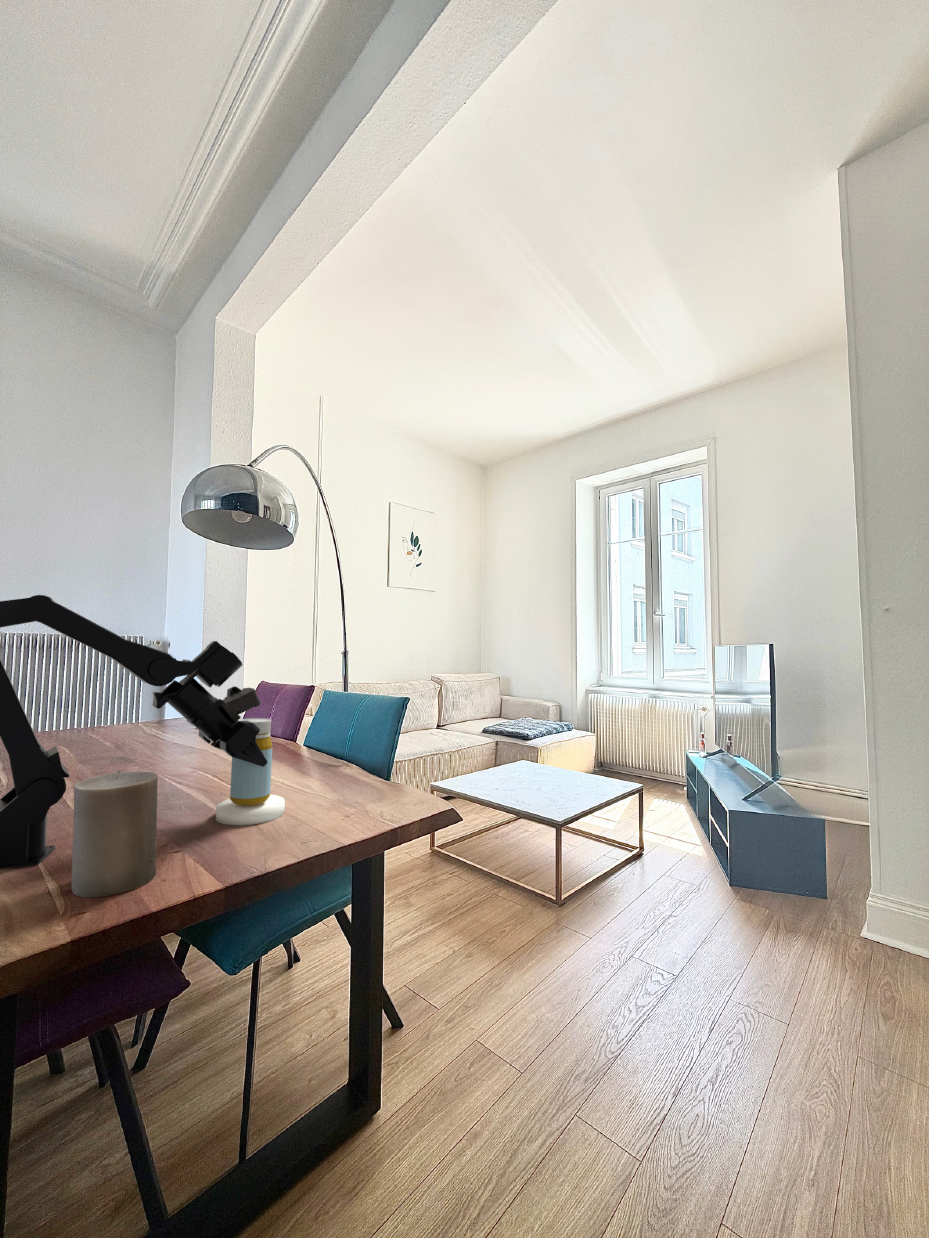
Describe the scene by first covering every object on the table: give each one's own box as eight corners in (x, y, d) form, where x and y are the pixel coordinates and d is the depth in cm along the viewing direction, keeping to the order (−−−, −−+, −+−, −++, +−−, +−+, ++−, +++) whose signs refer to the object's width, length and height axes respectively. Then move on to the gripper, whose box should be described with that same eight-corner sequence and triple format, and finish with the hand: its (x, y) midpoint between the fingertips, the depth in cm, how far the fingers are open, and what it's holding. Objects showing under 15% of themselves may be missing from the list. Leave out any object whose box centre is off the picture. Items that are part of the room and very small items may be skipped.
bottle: (277, 798, 101) (281, 719, 102) (247, 808, 95) (251, 723, 96) (252, 793, 104) (256, 716, 105) (221, 802, 98) (225, 720, 99)
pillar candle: (172, 870, 75) (175, 764, 76) (109, 903, 65) (113, 780, 66) (118, 863, 77) (121, 760, 78) (50, 893, 68) (54, 775, 69)
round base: (284, 821, 96) (284, 810, 96) (211, 828, 92) (212, 816, 92) (284, 802, 107) (284, 792, 107) (219, 807, 103) (219, 797, 103)
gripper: (249, 676, 91) (308, 735, 97) (218, 671, 105) (272, 722, 112) (198, 726, 85) (264, 784, 92) (172, 713, 100) (231, 764, 106)
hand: (258, 760), depth 101 cm, fingers open, 7 cm apart
